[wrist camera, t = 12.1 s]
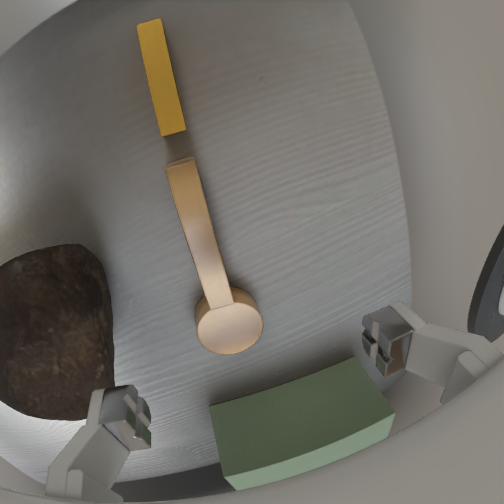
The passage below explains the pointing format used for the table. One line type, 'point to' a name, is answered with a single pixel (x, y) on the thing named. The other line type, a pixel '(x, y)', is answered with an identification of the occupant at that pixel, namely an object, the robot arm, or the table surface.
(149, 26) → the fry
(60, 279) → the dark brown bone
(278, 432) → the sage green box
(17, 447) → the table surface
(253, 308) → the spoon
